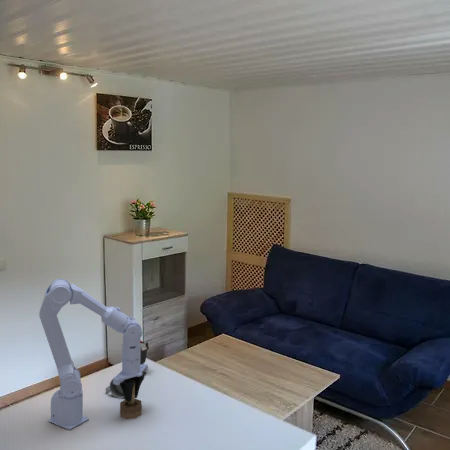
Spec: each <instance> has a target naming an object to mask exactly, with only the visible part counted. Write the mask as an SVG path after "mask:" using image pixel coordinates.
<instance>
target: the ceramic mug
mask: <svg viewBox="0 0 450 450" xmlns="http://www.w3.org/2000/svg"><path fill="white" fill-rule="evenodd" d="M105 392H106V393H108V394H109V393H111V395H112V396H113V397H115V398H117V399H123V398H124V394H123V391H122V388H121V386H120V385H115V384H113V378H112V379H111V380H110V382H109V385H108V386H106V387H105ZM124 399H125V398H124Z"/></svg>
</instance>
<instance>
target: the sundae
mask: <svg viewBox="0 0 450 450" xmlns="http://www.w3.org/2000/svg"><path fill="white" fill-rule="evenodd" d="M140 343H141V356H140V365H141V364H146V361H147V354H148V350H149V349H150V348H149V342H148V341H147V342H146V343H145V342H144V341H142V340H141V339H140ZM142 375H144V376H145V375H147V371H143V372H142Z"/></svg>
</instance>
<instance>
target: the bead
mask: <svg viewBox="0 0 450 450" xmlns="http://www.w3.org/2000/svg"><path fill="white" fill-rule="evenodd" d="M142 406H143V405H142V401H141V400H140V399H137V398H135V405H134V406H128V401H126V400H125V399H124V400H122V401H119V415H120V416H119V417H121V418H123V419H126V420H132V419H137V418H138V417H141V416H142V412H143V411H142V409H143V408H142Z"/></svg>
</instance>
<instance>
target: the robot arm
mask: <svg viewBox="0 0 450 450" xmlns="http://www.w3.org/2000/svg"><path fill="white" fill-rule="evenodd" d="M68 303H69V305H78V304H80V305H82V306H83V307H85V308H87V309H89V311H92V312H93V313H95V314H96V315H99V316H100V317H101V319H100V320H101V322H102V323H103V324H105V325H106V326H107V327H109V328H111V329H112V330H114V331H116V332H117V333H120V334H122V344H121V346H122V347H121V348H122V349H121V351H122V352H121V353H122V355H121V359H122V360H121V371H120V372H119V373H118V374H116V375H115V376H114V377H113V378H112V379H113V384H115V385H120V386H121V388H122V391H123V394H124V400H126V401H129V402H130V401H131V400H132V391H133V386H134V384H135V399H137V398H138V395H139V390H140V388H141V386H142V383H143V381H144V379H145V375H142V372H143V371H145V372H147V371H149V364H147V363H144V364H141V365H140V356H141V343H140V340H141V337H142V336H143V330H142V327H141V325H140V323H139V322H138V320H136V318H135V317H133V316H131V315H129V316H128V315H127V314H125V313H124V312H122V311H121V308H120V307H119V306H116V307H115V306H106V305H105V304H103V303H102V302H100V301H99V300H97V299H96V298H95V297H94V296H92V295H90V294H89V292H86V290H83V289H82V288H81V287H79V286H78V285H75V284H74V283H72V282H71V283H70V282H69V281H68V280H66V279H64V278H57V279H55V280H53V281H52V282H51V283H50V284H49V286H48V287H47V288H46V290H45V294H44V297H43V299H42V302H41V306H40V309H39V312H38V313H39V315H38V316H39V320H40V322H41V325H42V327H43V331H44V334H45V337H46V339H47V340H46V341H47V343H48V345H49V348H50V351H51V355H52V358H53V360H54V363H55V366H56V369H57V370H56V371H57V373H58V378H59V381H60V382H59V383H60V386H59V389H58V390H56V391H55V392H54V393H53V394H52V396H51V399H50V419H48V423H51V422H52V423H51V424H53V423H54V424H53V425H56V426H59V427H61V428H64V429H66V430H68V431H70V430H73V429H74V428H75V427H77V426H79V425H81V424H83V423H85V422H87V421H89V419H90V418H89V417H87V416H85V415H84V414H83V411H84V410H83V409H84V407H83V406H84V403H83V401H84V396H83V395H84V392H83V384H82V379H81V377H82V376H81V371H80V370H79V369H78V368H77V367H76V366H75V364H74V361H73V360H72V357H71V354H70V351H69V348H68V345H67V342H66V339H65V336H64V332H63V331H62V327H61V323H60V320H59V318H58V314H59V313H60V311H61V309H62V308H63V307H65V306H66V305H67V304H68ZM131 380H133V381H131ZM134 381H135V382H134Z"/></svg>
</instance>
